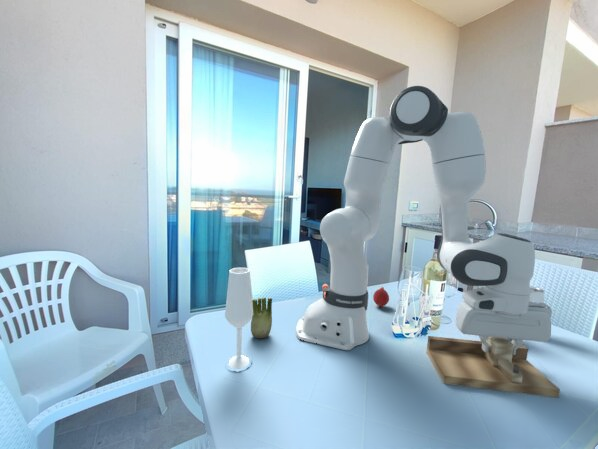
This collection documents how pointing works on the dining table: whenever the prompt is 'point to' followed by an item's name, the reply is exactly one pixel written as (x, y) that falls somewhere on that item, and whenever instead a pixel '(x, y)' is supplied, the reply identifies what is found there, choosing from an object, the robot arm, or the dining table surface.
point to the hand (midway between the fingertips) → (498, 352)
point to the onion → (381, 297)
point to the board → (484, 368)
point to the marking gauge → (503, 358)
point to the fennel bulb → (261, 318)
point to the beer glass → (536, 295)
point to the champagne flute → (239, 309)
